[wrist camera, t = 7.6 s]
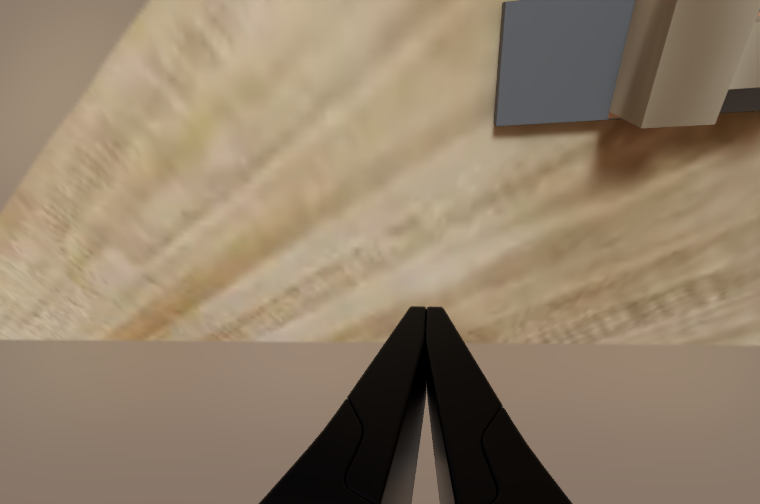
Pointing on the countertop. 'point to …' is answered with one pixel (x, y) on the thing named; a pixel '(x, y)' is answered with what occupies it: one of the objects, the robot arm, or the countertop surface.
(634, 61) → the t block
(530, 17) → the mat
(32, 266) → the countertop surface
